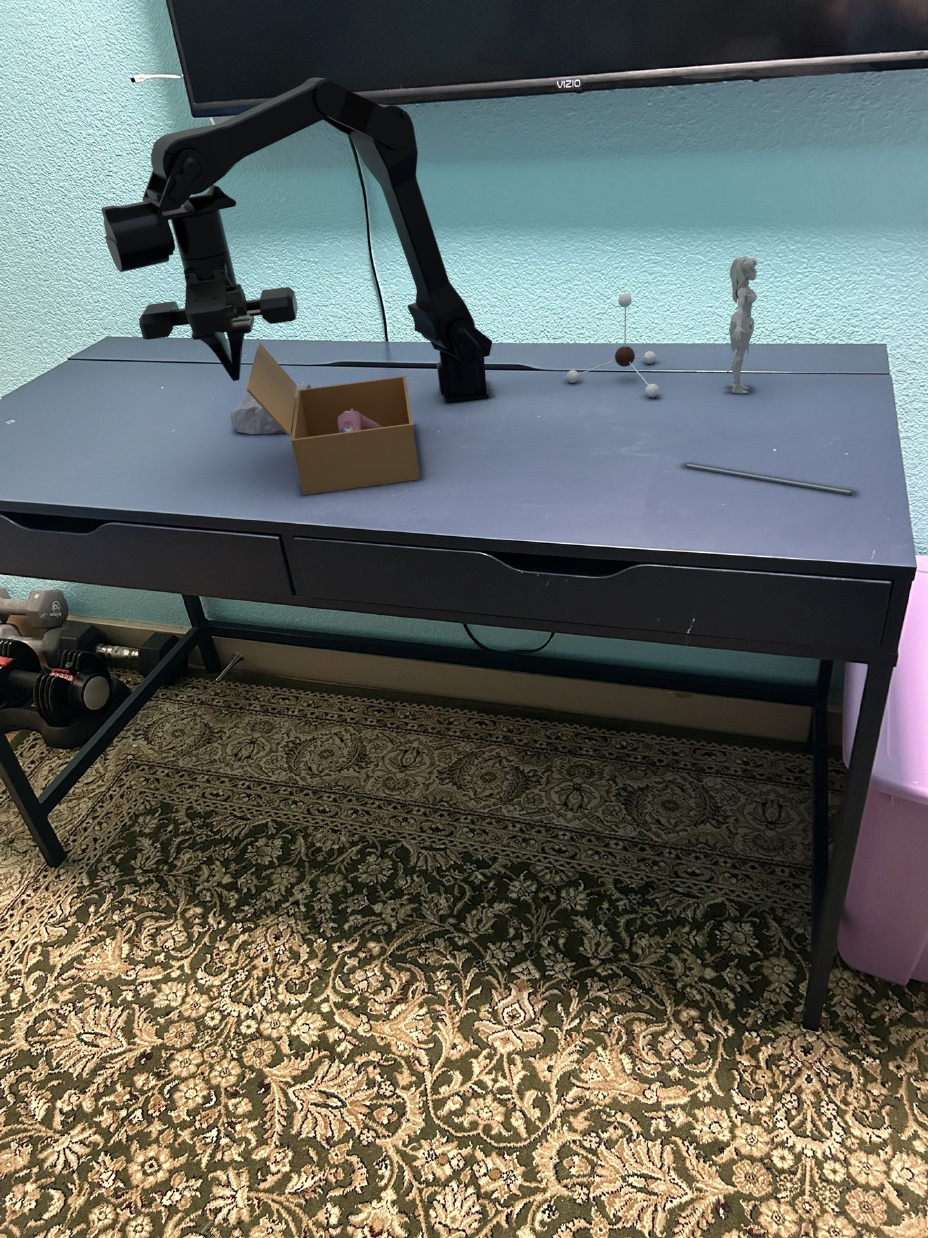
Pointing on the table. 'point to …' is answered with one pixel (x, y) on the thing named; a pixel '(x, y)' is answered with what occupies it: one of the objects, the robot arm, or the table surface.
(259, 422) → the stone block
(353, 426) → the video game controller
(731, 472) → the rod
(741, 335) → the human figurine
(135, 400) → the table surface
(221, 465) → the table surface
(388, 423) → the carton
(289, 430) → the flap
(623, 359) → the molecular model
